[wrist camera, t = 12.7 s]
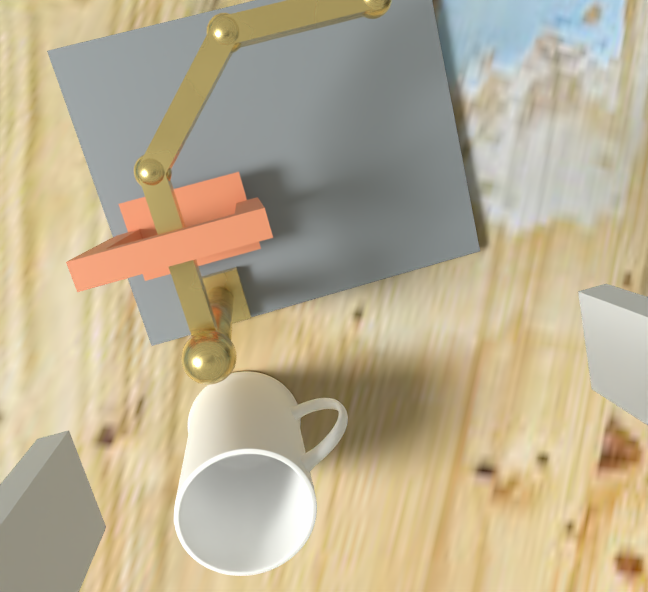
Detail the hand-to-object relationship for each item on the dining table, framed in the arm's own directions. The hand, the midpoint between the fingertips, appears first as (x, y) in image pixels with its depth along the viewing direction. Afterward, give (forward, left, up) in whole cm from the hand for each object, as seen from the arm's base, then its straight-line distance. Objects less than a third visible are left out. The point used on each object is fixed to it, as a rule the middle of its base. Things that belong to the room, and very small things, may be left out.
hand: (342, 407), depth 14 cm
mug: (+4, +12, -28) cm, 31 cm away
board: (-2, -6, -28) cm, 29 cm away
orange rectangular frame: (+5, -4, -25) cm, 26 cm away
